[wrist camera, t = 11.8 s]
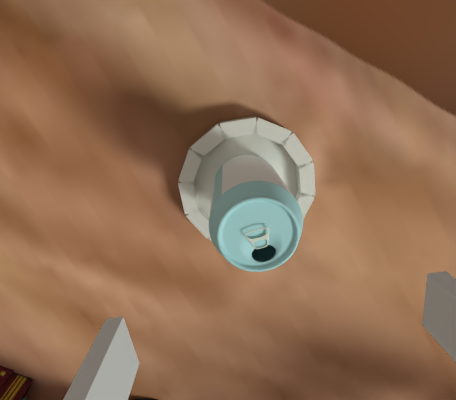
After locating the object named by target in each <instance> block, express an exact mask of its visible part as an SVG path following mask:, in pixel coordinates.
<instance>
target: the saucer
mask: <svg viewBox="0 0 456 400" xmlns="http://www.w3.org/2000/svg"><path fill="white" fill-rule="evenodd" d="M241 155H254V156H258V157H261V158H263V159H264V160H266V161H267V162H269V163H270V164H271V165H272V166H273V168H274V169H275V170H276V172H277V173H278V175H279V176H280V178H281V179H282V180H283V182H284V183H285V185H286V186H287V188H288V189H289V190H290V192H291V193H292V195H293V196H294V198H295V199H296V200H297V202H298V204H299V206H300V208H301V212H302V216H303V219H304V217H305V215H306V213H307V211H308V209H309V207H310V205H311V204H312V202H313V200H314V198H315V197H314V196H313V195H315V178H314V162H312V161H313V160H312V158H311V157H310V155H309V154H308V153H307V151H306V150H305V148H304V147H303V146H302V144H301V143H300V141H299V140H298V138H297V137H296V136H295V134H294V133H293V132H292V131H290V130H288V129H286V128H283V127H281V126H278V125H276V124H273V123H271V122H269V121H266V120H264V119H261V118H259V117H254V116H252V117H246V118H240V119H234V120H227V121H221V122H220V124H219V123H217V124H216V125H215V126H213V127H212V128H211V129H210V130H209V131H208V132H206V133H205V134H204V135H203V136H202V137H200V138H199V139H198V140H197V141H196V142H194V143H193V144H192V145H191V147H190V148H189V150H188V153H187V156H186V159H185V162H184V165H183V168H182V171H181V174H180V177H179V180H178V181H179V182H178V186H179V190H180V195H181V199H182V204H183V208H184V213H185V214H186V217H187V218H188V219H189V220H190V221H191V222H192V223H193V224H194V225H195V226H196V228H197V229H198V230H199V231H200V232H201V233H202V234H203V235H204V236H205V237H206V238H208V237H209V240H211V237H210V233H209V216H210V208H211V200H212V193H213V185H214V179H215V176H216V174H217V172H218V170H219V169H220V168H221V166H222V165H223V164H224V163H226V162H227V161H228V160H230V159H232V158H234V157H237V156H241ZM211 241H212V240H211Z"/></svg>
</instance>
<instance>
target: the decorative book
mask: <svg viewBox="0 0 456 400" xmlns="http://www.w3.org/2000/svg"><path fill="white" fill-rule="evenodd" d="M32 381H33V380H31V379H28V378H25V377H23V376H20V375H17V374H14V373H13V370H11V369H8V368H5V367H2V366H0V400H26V395H27V392H28V390H29V388H30V385H31V383H32ZM28 398H29V397H28ZM28 398H27V400H28Z"/></svg>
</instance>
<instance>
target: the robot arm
mask: <svg viewBox="0 0 456 400" xmlns="http://www.w3.org/2000/svg"><path fill="white" fill-rule="evenodd" d="M422 325H423V326H424V328H425V329H426V330H427V331H428V332H429V333H430V334H431V335H432V336H433V338H434V339H435V340H436V341H437V342H438V343H439V344H440V345H441V347H442V348H443V349H444V350H445V351H446V352H447V353H448V354H449V355H450V357H451V358H452V359H453V360H454V361H455V362H456V279H455V278H454V277H453V276H451V275H450V274H449V273H447V272H446V271H444V272H437V273H430V274H427V282H426V293H425V303H424V313H423V324H422ZM138 366H139V361H138V358H137V355H136V352H135V350H134V347H133V344H132V341H131V338H130V335H129V332H128V329H127V326H126V324H125V321H124V318H123V317H117V318H110V319H106V320H105V322H104V324H103V326H102V328H101V329H100V331H99V333H98V335H97V337H96V339H95V341H94V343H93V344H92V346H91V348H90V350H89V352H88V354H87V356H86V358H85V359H84V361H83V363H82V365H81V367H80V369H79V371H78V373H77V374H76V376H75V378H74V380H73V382H72V384H71V386H70V388H69V389H68V391H67V393H66V395H65V397H64V399H63V400H128V398H129V395H130V392H131V388H132V385H133V382H134V379H135V376H136V372H137V369H138ZM134 400H156V399H134Z"/></svg>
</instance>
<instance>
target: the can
mask: <svg viewBox="0 0 456 400" xmlns="http://www.w3.org/2000/svg"><path fill="white" fill-rule="evenodd" d="M302 228H303V216H302V212H301V208H300V206H299V204H298V202H297V200H296V199H295V198H294V196H293V195H292V193H291V192H290V190H289V189H288V188H287V186H286V185H285V183H284V182H283V180H282V179H281V178H280V176H279V175H278V173H277V172H276V170H275V169H274V168H273V166H272V165H271V164H270V163H269V162H267V161H266V160H264V159H263V158H261V157H258V156H254V155H241V156H237V157H234V158H232V159H230V160H228V161H227V162H226V163H224V164H223V165H222V166H221V168H220V169H219V170H218V172H217V174H216V176H215V179H214V185H213V193H212V200H211V208H210V216H209V233H210V237H211V240H212V242H213V244H214V246H215V247H216V249H217V250H218V251H219V253H220V254H221V255H223V256H224V258H225V259H226V260H227V261H228V262H229V263H231V264H232V265H234V266H235V267H237V268H240V269H242V270H246V271H252V272H262V271H267V270H271V269H274V268H276V267H278V266H280V265H281V264H283V263H284V262H286V261H287V260H288V259H289V258H290V257H291V256H292V254H293V253H294V251H295V250H296V248H297V245H298V243H299V239H300V236H301V233H302Z"/></svg>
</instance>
